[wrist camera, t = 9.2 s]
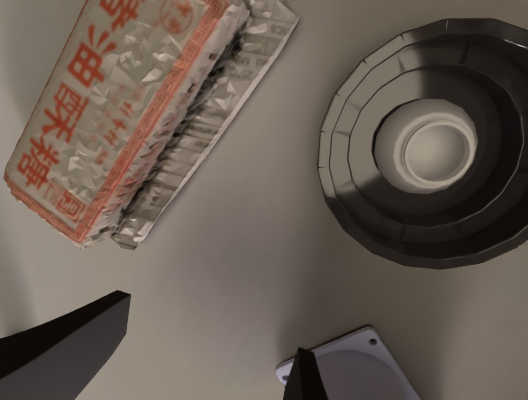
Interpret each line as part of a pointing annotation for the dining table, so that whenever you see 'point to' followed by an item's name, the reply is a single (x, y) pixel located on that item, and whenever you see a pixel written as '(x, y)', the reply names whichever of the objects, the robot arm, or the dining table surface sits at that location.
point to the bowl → (478, 174)
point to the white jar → (426, 146)
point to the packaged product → (139, 109)
